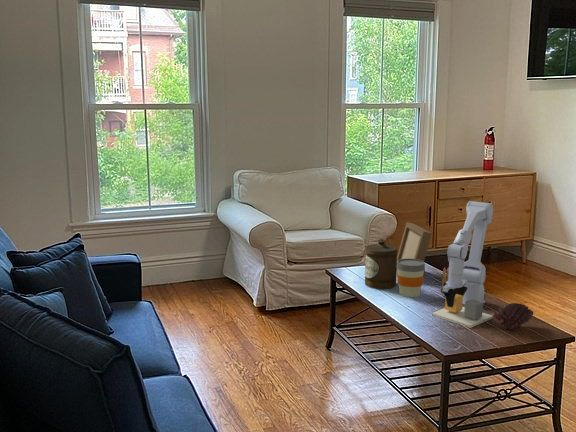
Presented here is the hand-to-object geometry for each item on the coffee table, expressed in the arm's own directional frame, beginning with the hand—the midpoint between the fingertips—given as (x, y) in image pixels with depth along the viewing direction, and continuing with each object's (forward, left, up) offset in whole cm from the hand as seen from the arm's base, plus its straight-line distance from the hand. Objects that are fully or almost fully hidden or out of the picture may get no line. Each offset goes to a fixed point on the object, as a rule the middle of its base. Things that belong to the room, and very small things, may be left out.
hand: (454, 305), depth 250 cm
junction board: (0, +4, -4) cm, 6 cm away
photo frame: (-32, -44, -4) cm, 55 cm away
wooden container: (-8, -46, -4) cm, 47 cm away
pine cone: (-5, +24, -4) cm, 25 cm away
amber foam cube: (0, 0, -2) cm, 2 cm away
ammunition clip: (-24, -17, -4) cm, 30 cm away
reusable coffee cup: (-7, -28, -4) cm, 29 cm away
